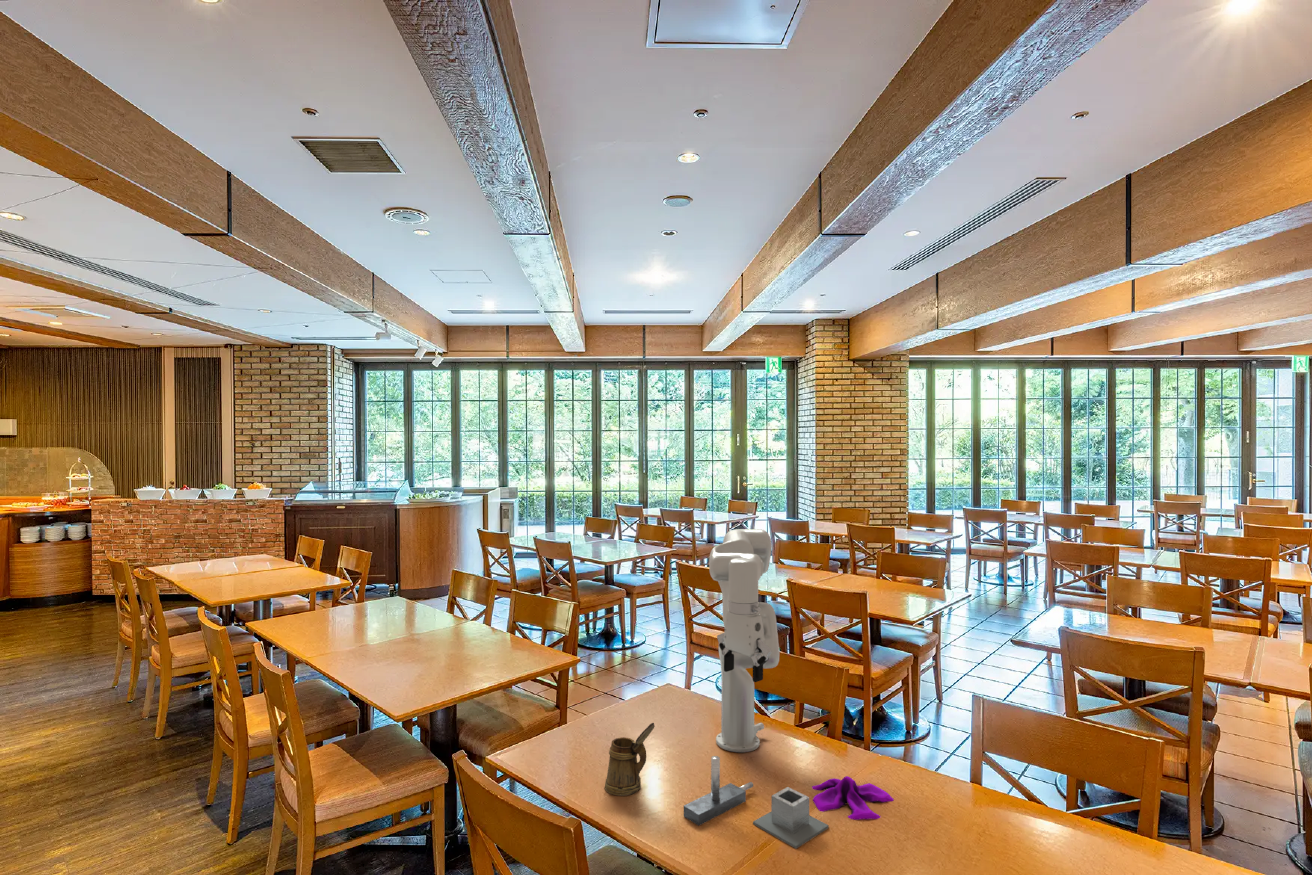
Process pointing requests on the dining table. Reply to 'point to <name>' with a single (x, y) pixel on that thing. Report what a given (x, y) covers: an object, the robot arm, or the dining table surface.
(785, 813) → the steel collar
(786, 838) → the slate pad
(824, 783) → the cloth
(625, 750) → the wooden mug
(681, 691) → the dining table surface
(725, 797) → the block
